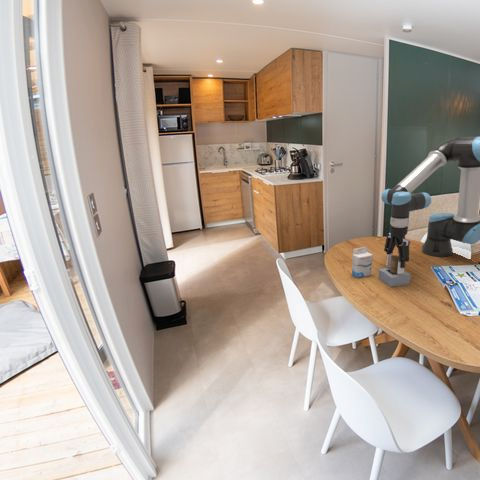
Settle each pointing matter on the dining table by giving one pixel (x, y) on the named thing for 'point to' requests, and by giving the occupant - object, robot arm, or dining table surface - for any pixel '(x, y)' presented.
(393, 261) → the peg
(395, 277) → the socket
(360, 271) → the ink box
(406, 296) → the dining table surface
